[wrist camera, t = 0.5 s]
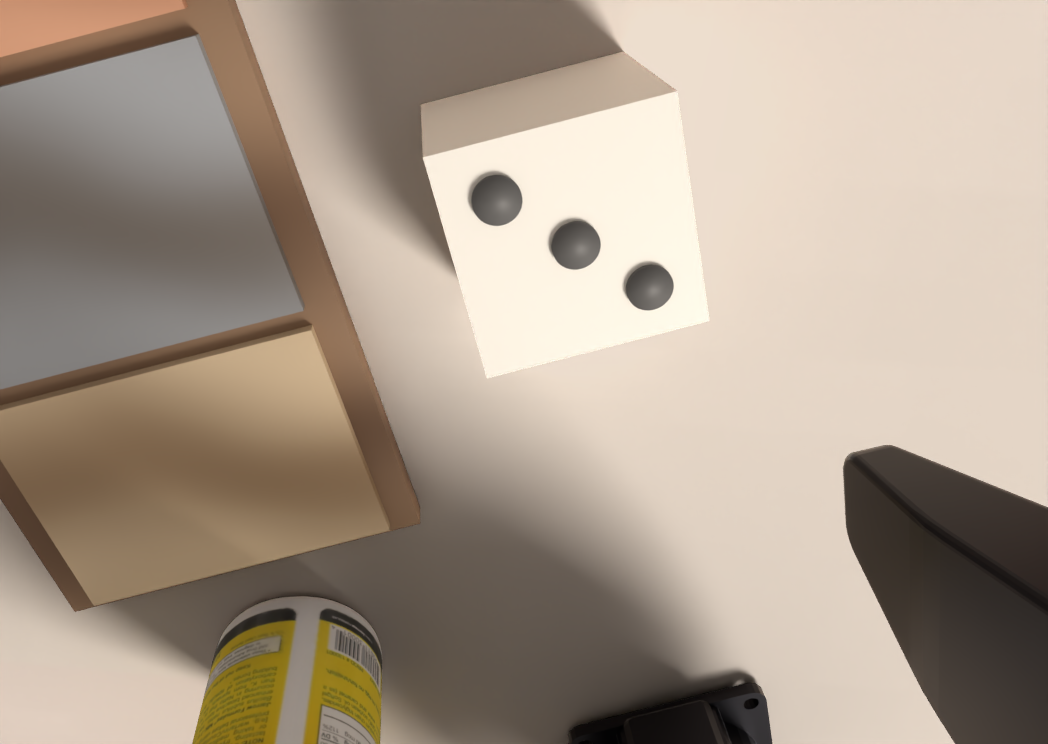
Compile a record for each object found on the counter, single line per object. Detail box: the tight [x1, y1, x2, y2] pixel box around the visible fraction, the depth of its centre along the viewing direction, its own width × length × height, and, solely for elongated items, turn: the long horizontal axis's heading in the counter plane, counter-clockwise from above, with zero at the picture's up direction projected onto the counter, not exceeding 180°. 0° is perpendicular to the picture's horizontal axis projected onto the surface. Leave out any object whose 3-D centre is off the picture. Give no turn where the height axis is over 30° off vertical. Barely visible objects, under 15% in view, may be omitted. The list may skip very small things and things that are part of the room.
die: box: [421, 51, 709, 378], centre depth 18 cm, size 4×4×5 cm
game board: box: [0, 0, 420, 612], centre depth 19 cm, size 20×10×1 cm, turn 13°
